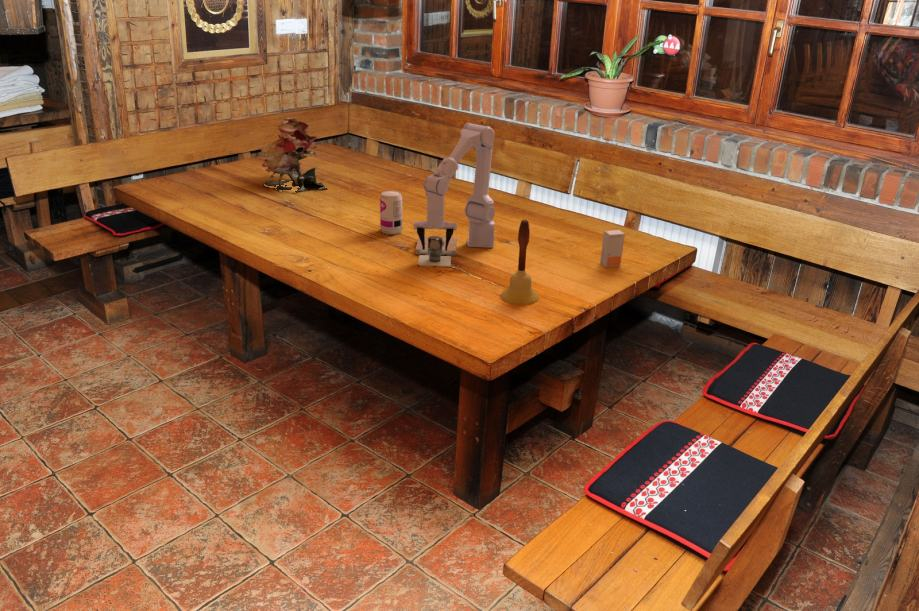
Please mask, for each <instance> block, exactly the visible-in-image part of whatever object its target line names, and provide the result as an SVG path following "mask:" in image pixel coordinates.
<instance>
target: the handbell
mask: <svg viewBox="0 0 919 611" xmlns="http://www.w3.org/2000/svg"><path fill="white" fill-rule="evenodd" d="M518 227H519V229H518V233H517V234H518V236H517V241H518V246H519V247H518V249H519V252H518V263H517V265H518V266H517V267H518V268H517V271H516V272H514V273H512V274H511V276H510V278H509V286H508V287H507V288H506V289H504V290H503V291H502V292H500V295H499V297H500V299H501V300H502V301H503V302H505V303H507V304H509V305H516V306H529V305H533V304H536V303H537V302H538V301H539V300H540V295H539V294H538V292H536V291H535V290H534V289H533V288H532V276H531V275H530V274H529V273H527V272H526V261H527V260H526V258H527V249H528V245H529V242H530V236H531V235H530V234H531V233H530V224H529V220H527V219H523V220H521V221H520V224H519V226H518Z"/></svg>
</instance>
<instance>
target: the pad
mask: <svg viewBox="0 0 919 611" xmlns="http://www.w3.org/2000/svg"><path fill="white" fill-rule="evenodd" d="M451 261H452V256H441V261H440V262H430V261H429V255H419V257H418V262H417V266H418V265H419V266H418V267H433V266H437V267H438V268H439V267H440V268H451V263H452V262H451ZM437 267H436V268H437Z"/></svg>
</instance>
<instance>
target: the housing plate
mask: <svg viewBox="0 0 919 611" xmlns="http://www.w3.org/2000/svg"><path fill="white" fill-rule="evenodd" d="M430 236H431V235H425V250H423V249H422V243H421V240H420V238H419V236H417V243H416V245H415V246H416V247H415V255H416V254H425V255H428V237H430ZM438 236H439V237H442V255H447V256H451V257H456V256H457V254H456V253H457V242H458V241H457V240H458V239H457V236H452V237H451V239H450V241H449V244H448V247H447V251H445V245H446V236H440V235H438Z"/></svg>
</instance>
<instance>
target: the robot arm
mask: <svg viewBox="0 0 919 611" xmlns="http://www.w3.org/2000/svg"><path fill="white" fill-rule="evenodd" d="M495 134H496V133H495V130H494V129H493V128H492V127H491V126H486V125H481V124H476V123H471V122H466V123H465V124H464V126H462V129H461V130H460V134H459V135H460V138H459V140H458V142H457V144H456V145H455V147H454V148H453V150H452V152H451V153H450V155H449V157H445V158H443V159H442V161H441V162H440V163H439V165H437V166H438V167H437V168H436V169H435V170H434V172H433V173H432V174H430V175H428V176H427V177H426V178H425V180H424V183H423V189H424V191H425V196H426V221H414V222H413V230H416V234H417V237H419V238H420V240H421V243H422V249H423V250H425V236H426V233H425V232H426V231H425V230H444V231H445V237H446V245H445V251H447V247H448V244H449V241H450V239H451V237H453V236H454V235H453V234H454V232H455V231H457V230H458V223H454V222H448V221H445V194H446V193H447V192H448V190H449V187H450V184H451V179H452V178H453V176H454V175H455V174H456V172H457V171H458V169H459V164H458V163H459V162H460V161H461V160H462V159H463V158H464V156H465V155H466V154H467V153H468V151H469V150H470V149H471V148H474V149H475V150H476V160H475V170H474V180H473V192H472V193H473V194H471V195H469V196H468V197H467V199H466V200H467V201H466V205H465V207H464V214H465V216H466V217H467V220H468V222H469V223H468V237H467V247H468V248H488V249H489V248H491V249H492V248H494V244H495V239H496V238H495V236H496V235H495V221H494V220H493V219H494V217H495V214H496V212H495V202H494V200H493V198H491V196H490V195H489V190H490V188H489V187H490V178H491V177H490V176H491V168H492V157H493V149H494V145H495Z"/></svg>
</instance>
